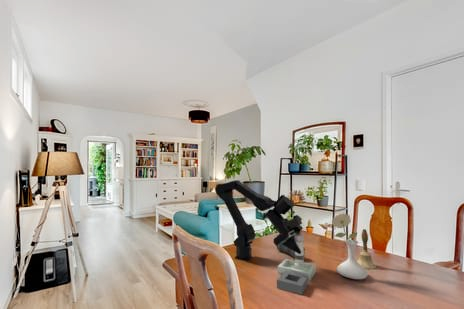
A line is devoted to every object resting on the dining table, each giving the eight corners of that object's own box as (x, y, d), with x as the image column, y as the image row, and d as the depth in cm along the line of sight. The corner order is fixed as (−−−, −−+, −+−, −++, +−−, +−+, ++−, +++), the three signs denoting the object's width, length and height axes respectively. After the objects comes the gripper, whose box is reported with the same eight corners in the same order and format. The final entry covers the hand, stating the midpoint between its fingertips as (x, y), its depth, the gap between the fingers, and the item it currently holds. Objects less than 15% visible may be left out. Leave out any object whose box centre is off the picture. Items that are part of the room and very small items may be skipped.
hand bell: (367, 270, 105) (366, 232, 106) (351, 263, 113) (350, 228, 114) (380, 267, 108) (380, 230, 109) (364, 260, 116) (363, 226, 117)
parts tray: (277, 273, 102) (277, 266, 102) (285, 265, 110) (285, 258, 110) (309, 281, 95) (309, 273, 95) (315, 272, 103) (315, 264, 104)
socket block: (276, 288, 90) (276, 279, 90) (285, 278, 97) (285, 270, 98) (301, 294, 85) (301, 286, 85) (308, 284, 93) (308, 276, 93)
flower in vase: (365, 272, 104) (364, 212, 105) (370, 284, 93) (369, 217, 94) (331, 267, 108) (330, 210, 109) (333, 279, 97) (332, 215, 98)
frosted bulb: (294, 268, 101) (294, 236, 101) (294, 265, 104) (294, 234, 105) (304, 269, 100) (304, 237, 101) (303, 265, 104) (303, 234, 104)
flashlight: (275, 251, 129) (275, 241, 129) (283, 249, 131) (283, 239, 132) (296, 261, 115) (296, 249, 116) (305, 259, 118) (305, 247, 118)
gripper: (280, 212, 98) (307, 246, 91) (298, 206, 113) (323, 235, 106) (263, 229, 103) (287, 263, 95) (282, 221, 117) (305, 250, 110)
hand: (302, 252), depth 102 cm, fingers closed on frosted bulb, 3 cm apart
